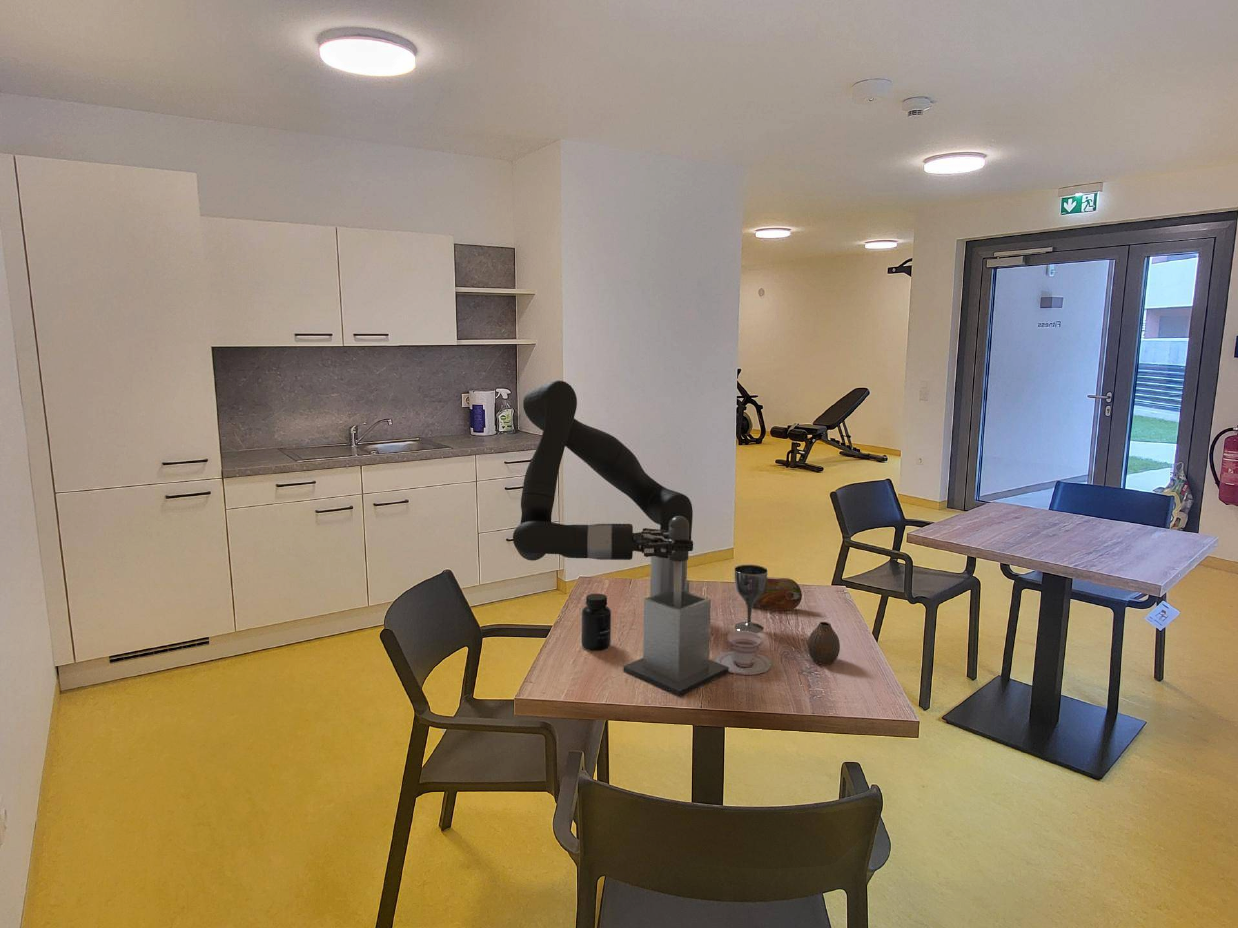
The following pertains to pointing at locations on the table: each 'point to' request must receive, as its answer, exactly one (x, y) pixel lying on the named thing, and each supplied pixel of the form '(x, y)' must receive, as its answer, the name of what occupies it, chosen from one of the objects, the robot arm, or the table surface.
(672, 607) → the square planter box
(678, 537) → the screwdriver
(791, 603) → the tin
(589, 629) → the supplement bottle
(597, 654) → the table surface
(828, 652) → the vase
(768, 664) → the teacup
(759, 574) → the wine glass
